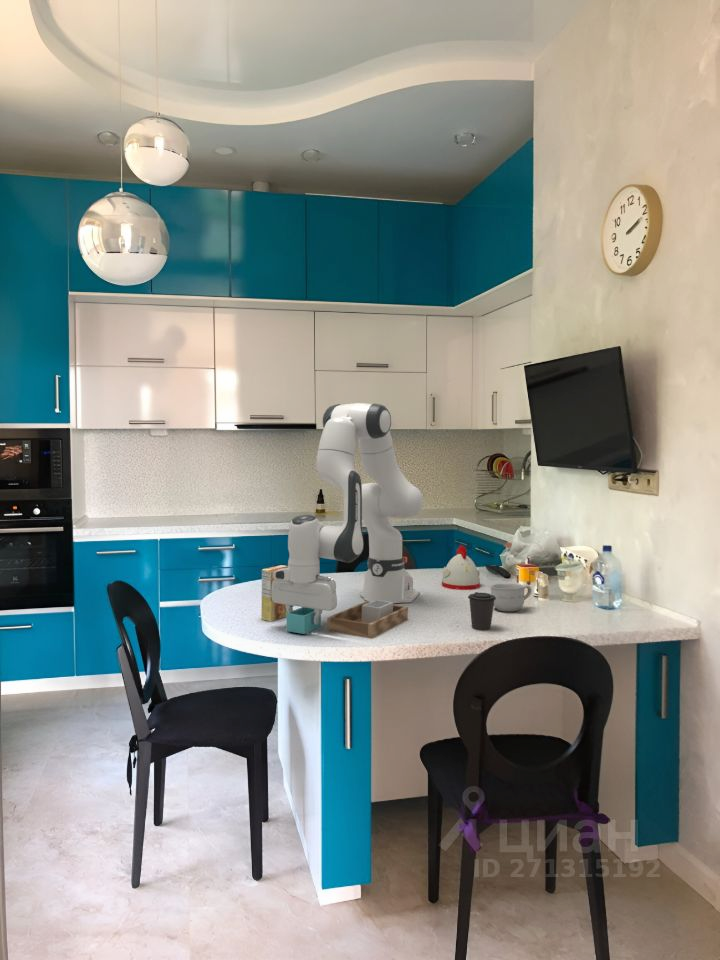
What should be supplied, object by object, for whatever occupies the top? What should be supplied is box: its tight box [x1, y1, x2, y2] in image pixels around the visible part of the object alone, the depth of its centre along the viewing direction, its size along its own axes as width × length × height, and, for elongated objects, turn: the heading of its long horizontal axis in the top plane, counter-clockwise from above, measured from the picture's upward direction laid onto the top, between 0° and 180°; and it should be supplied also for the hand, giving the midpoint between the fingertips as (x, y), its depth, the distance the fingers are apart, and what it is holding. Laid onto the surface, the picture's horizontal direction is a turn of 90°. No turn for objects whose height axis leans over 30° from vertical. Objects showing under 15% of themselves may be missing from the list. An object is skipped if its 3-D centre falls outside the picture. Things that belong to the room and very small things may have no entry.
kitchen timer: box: [441, 544, 481, 591], centre depth 269 cm, size 14×14×15 cm
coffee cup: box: [467, 591, 496, 631], centre depth 212 cm, size 8×8×10 cm
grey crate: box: [362, 600, 394, 623], centre depth 216 cm, size 8×6×5 cm
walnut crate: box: [326, 600, 409, 639], centre depth 211 cm, size 23×14×4 cm, turn 151°
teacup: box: [490, 582, 532, 612], centre depth 235 cm, size 14×11×8 cm
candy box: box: [260, 564, 288, 622], centre depth 220 cm, size 9×4×15 cm, turn 145°
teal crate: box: [285, 607, 322, 635], centre depth 207 cm, size 8×6×5 cm
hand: (303, 621), depth 207 cm, fingers closed on teal crate, 6 cm apart
